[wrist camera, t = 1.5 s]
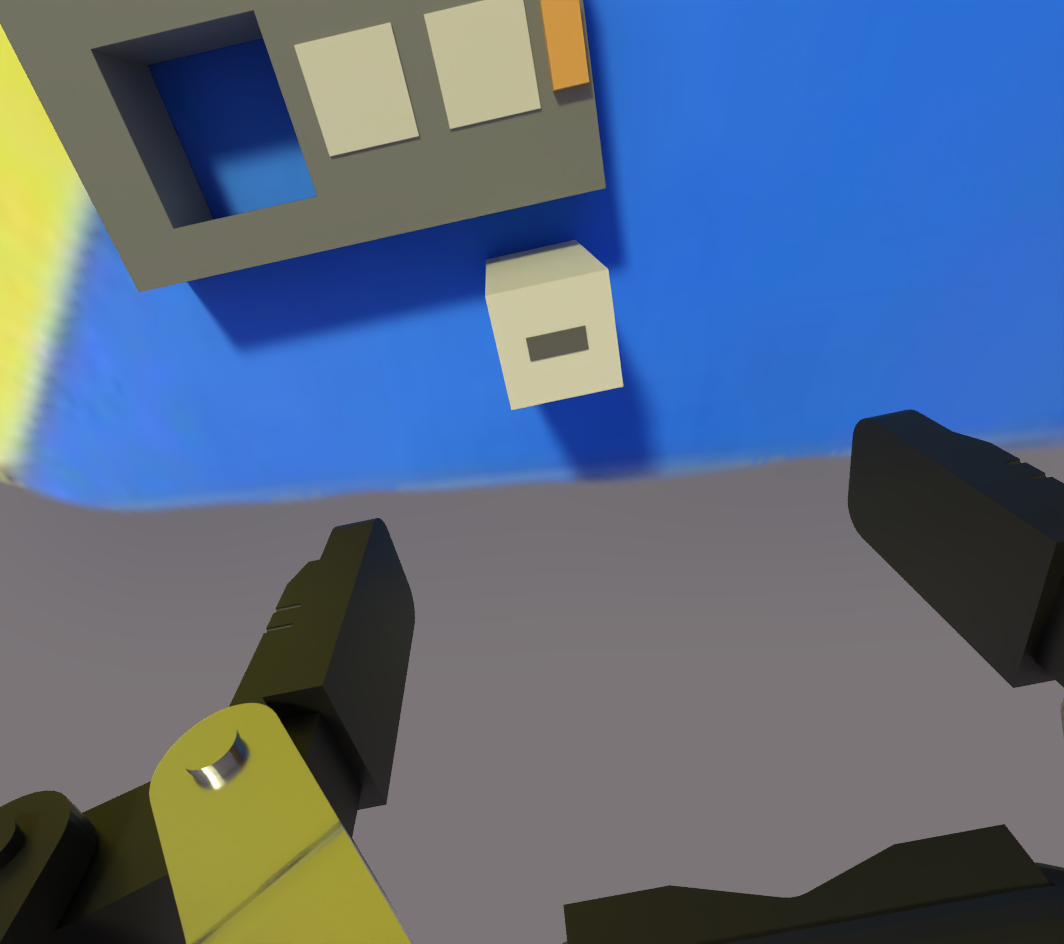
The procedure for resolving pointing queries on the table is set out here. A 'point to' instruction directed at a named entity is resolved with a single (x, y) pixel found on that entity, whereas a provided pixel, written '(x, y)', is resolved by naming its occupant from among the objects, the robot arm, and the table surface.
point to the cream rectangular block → (553, 323)
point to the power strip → (319, 117)
